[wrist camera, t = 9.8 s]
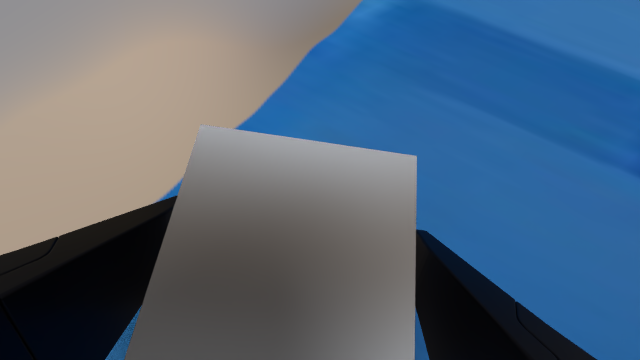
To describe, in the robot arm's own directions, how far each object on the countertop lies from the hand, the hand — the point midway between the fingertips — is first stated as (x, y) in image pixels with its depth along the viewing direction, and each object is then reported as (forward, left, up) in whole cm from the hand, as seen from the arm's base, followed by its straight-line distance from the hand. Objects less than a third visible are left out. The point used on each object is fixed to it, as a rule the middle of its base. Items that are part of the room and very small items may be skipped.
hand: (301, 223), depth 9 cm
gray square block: (-1, -1, -8) cm, 8 cm away
